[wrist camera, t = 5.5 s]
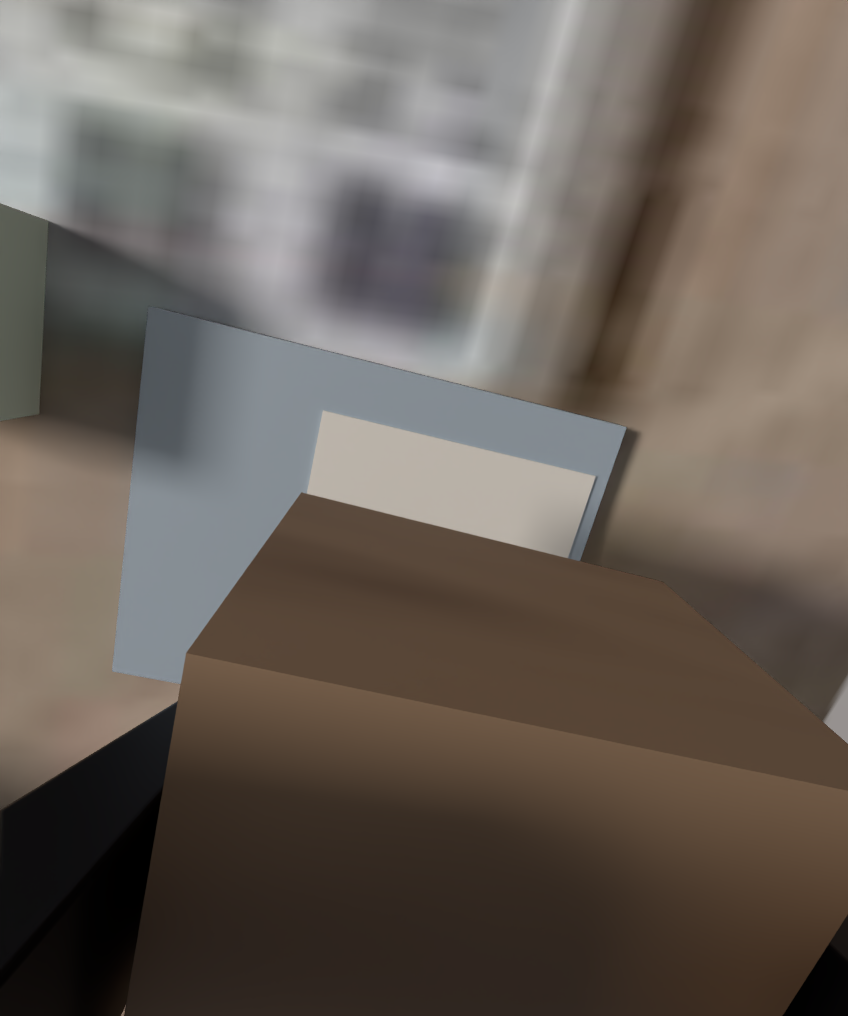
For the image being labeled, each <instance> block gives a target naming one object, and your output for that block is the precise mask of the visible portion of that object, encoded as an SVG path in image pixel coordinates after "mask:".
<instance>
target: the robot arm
mask: <svg viewBox="0 0 848 1016" xmlns="http://www.w3.org/2000/svg"><path fill="white" fill-rule="evenodd" d="M177 703H178V701H177V702H176V703H174V704H172V705H171V706H169V707H168V708H166V709H164V710H163V711H161V712H159V713H158V714H156V715H155V716H153V717H151V718H150V719H148V720H146V721H145V722H143V723H142V724H140V725H138V726H137V727H135V728H133V729H132V730H130V731H128V732H127V733H125V734H124V735H122V736H120V737H119V738H117V739H115V740H114V741H112V742H111V743H109V744H107V745H106V746H104V747H102V748H101V749H99V750H98V751H96V752H94V753H93V754H91V755H89V756H88V757H86V758H85V759H83V760H81V761H80V762H78V763H76V764H75V765H73V766H72V767H70V768H68V769H67V770H65V771H63V772H62V773H60V774H58V775H57V776H55V777H54V778H52V779H50V780H49V781H47V782H45V783H44V784H42V785H41V786H39V787H37V788H36V789H34V790H32V791H31V792H29V793H28V794H26V795H24V796H23V797H21V798H19V799H18V800H16V801H15V802H13V803H11V804H10V805H8V806H6V807H5V808H3V809H2V810H0V1016H121V1014H122V1012H123V1010H124V1007H125V1005H126V1002H127V996H128V990H129V984H130V979H131V973H132V967H133V961H134V955H135V949H136V943H137V938H138V932H139V926H140V920H141V914H142V908H143V902H144V897H145V891H146V885H147V879H148V873H149V867H150V861H151V855H152V850H153V844H154V838H155V832H156V826H157V820H158V814H159V809H160V803H161V797H162V791H163V785H164V779H165V773H166V768H167V762H168V756H169V750H170V744H171V738H172V732H173V726H174V721H175V715H176V709H177ZM783 1016H848V915H847V916H846V918H845V919H844V921H843V923H842V924H841V926H840V927H839V929H838V930H837V932H836V933H835V935H834V937H833V938H832V940H831V941H830V943H829V944H828V946H827V947H826V949H825V951H824V952H823V954H822V955H821V957H820V958H819V960H818V961H817V963H816V964H815V966H814V968H813V969H812V971H811V972H810V974H809V975H808V977H807V978H806V980H805V982H804V983H803V985H802V986H801V988H800V989H799V991H798V992H797V994H796V995H795V997H794V999H793V1000H792V1002H791V1003H790V1005H789V1006H788V1008H787V1009H786V1011H785V1013H784V1014H783Z"/></svg>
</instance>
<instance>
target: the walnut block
mask: <svg viewBox="0 0 848 1016" xmlns="http://www.w3.org/2000/svg"><path fill="white" fill-rule="evenodd" d="M847 915H848V744H847V743H846V742H845V741H844V740H843V739H842V738H840V737H839V736H838V735H837V734H836V733H834V731H832V730H831V729H830V728H829V727H828V726H827V725H826V724H824V723H823V722H822V721H821V720H820V719H819V718H818V717H816V716H815V715H814V714H813V713H812V712H811V711H810V710H808V709H807V708H806V707H805V706H804V705H803V704H802V703H801V702H799V701H798V700H797V699H796V698H795V697H794V696H793V695H791V694H790V693H789V692H788V691H787V690H786V689H785V688H783V687H782V686H781V685H780V684H779V683H778V682H777V681H775V680H774V679H773V678H772V677H771V676H770V675H769V674H767V673H766V672H765V671H764V670H763V669H762V668H761V667H759V666H758V665H757V664H756V663H755V662H754V661H753V660H751V659H750V658H749V657H748V656H747V655H746V654H745V653H743V652H742V651H741V650H740V649H739V648H738V647H737V646H735V645H734V644H733V643H732V642H731V641H730V640H729V639H727V638H726V637H725V636H724V635H723V634H722V633H721V632H720V631H718V630H717V629H716V628H715V627H714V626H713V625H712V624H710V623H709V622H708V621H707V620H706V619H705V618H704V617H702V616H701V615H700V614H699V613H698V612H697V611H696V610H694V609H693V608H692V607H691V606H690V605H689V604H688V603H686V602H685V601H684V600H683V599H682V598H681V597H680V596H678V595H677V594H676V593H675V592H674V591H673V590H672V589H670V588H669V587H668V586H667V585H666V584H665V583H664V582H662V581H658V580H654V579H650V578H646V577H642V576H638V575H634V574H630V573H626V572H622V571H617V570H613V569H609V568H605V567H601V566H597V565H593V564H589V563H585V562H581V561H577V560H573V559H569V558H565V557H561V556H557V555H553V554H549V553H545V552H541V551H537V550H533V549H529V548H525V547H520V546H516V545H512V544H508V543H504V542H500V541H496V540H492V539H488V538H484V537H480V536H476V535H472V534H468V533H464V532H460V531H456V530H452V529H448V528H444V527H440V526H436V525H432V524H428V523H423V522H419V521H415V520H411V519H407V518H403V517H399V516H395V515H391V514H387V513H383V512H379V511H375V510H371V509H367V508H363V507H359V506H355V505H351V504H347V503H343V502H339V501H335V500H331V499H327V498H322V497H318V496H314V495H310V494H306V493H302V492H301V494H300V495H299V496H298V498H297V499H296V500H295V502H294V503H293V505H292V506H291V507H290V509H289V510H288V512H287V513H286V514H285V516H284V517H283V519H282V520H281V521H280V523H279V524H278V526H277V527H276V528H275V530H274V531H273V533H272V534H271V535H270V537H269V538H268V539H267V541H266V542H265V544H264V545H263V546H262V548H261V549H260V551H259V552H258V553H257V555H256V556H255V558H254V559H253V560H252V562H251V563H250V565H249V566H248V567H247V569H246V570H245V572H244V573H243V574H242V576H241V577H240V579H239V580H238V581H237V583H236V584H235V585H234V587H233V588H232V590H231V591H230V592H229V594H228V595H227V597H226V598H225V599H224V601H223V602H222V604H221V605H220V606H219V608H218V609H217V611H216V612H215V613H214V615H213V616H212V618H211V619H210V620H209V622H208V623H207V625H206V626H205V627H204V629H203V630H202V631H201V633H200V634H199V636H198V637H197V638H196V640H195V641H194V643H193V644H192V645H191V647H190V648H189V650H188V651H187V652H186V656H185V662H184V668H183V674H182V680H181V685H180V691H179V697H178V703H177V709H176V715H175V721H174V726H173V732H172V738H171V744H170V750H169V756H168V762H167V768H166V773H165V779H164V785H163V791H162V797H161V803H160V809H159V814H158V820H157V826H156V832H155V838H154V844H153V850H152V855H151V861H150V867H149V873H148V879H147V885H146V891H145V897H144V902H143V908H142V914H141V920H140V926H139V932H138V938H137V943H136V949H135V955H134V961H133V967H132V973H131V979H130V984H129V990H128V996H127V1002H126V1008H125V1014H124V1016H783V1014H784V1013H785V1011H786V1009H787V1008H788V1006H789V1005H790V1003H791V1002H792V1000H793V999H794V997H795V995H796V994H797V992H798V991H799V989H800V988H801V986H802V985H803V983H804V982H805V980H806V978H807V977H808V975H809V974H810V972H811V971H812V969H813V968H814V966H815V964H816V963H817V961H818V960H819V958H820V957H821V955H822V954H823V952H824V951H825V949H826V947H827V946H828V944H829V943H830V941H831V940H832V938H833V937H834V935H835V933H836V932H837V930H838V929H839V927H840V926H841V924H842V923H843V921H844V919H845V918H846V916H847Z"/></svg>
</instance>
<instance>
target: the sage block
mask: <svg viewBox="0 0 848 1016" xmlns="http://www.w3.org/2000/svg"><path fill="white" fill-rule="evenodd" d="M47 241H48V221H47V220H44V219H42V218H39V217H36V216H33V215H31V214H28V213H25V212H22V211H20V210H17V209H14V208H12V207H9V206H6V205H3V204H1V203H0V421H3V420H9V419H15V418H20V417H26V416H32V415H37V414H39V406H40V385H41V365H42V344H43V323H44V303H45V282H46V261H47Z"/></svg>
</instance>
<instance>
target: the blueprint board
mask: <svg viewBox="0 0 848 1016" xmlns="http://www.w3.org/2000/svg"><path fill="white" fill-rule="evenodd" d="M626 428H627V427H624V426H622V425H619V424H615V423H611V422H607V421H603V420H599V419H595V418H591V417H587V416H583V415H579V414H575V413H571V412H567V411H563V410H560V409H556V408H552V407H548V406H544V405H540V404H536V403H532V402H528V401H524V400H520V399H516V398H512V397H508V396H504V395H500V394H496V393H492V392H488V391H484V390H480V389H477V388H473V387H469V386H465V385H461V384H457V383H453V382H449V381H445V380H441V379H437V378H433V377H429V376H425V375H421V374H417V373H413V372H409V371H405V370H401V369H397V368H394V367H390V366H386V365H382V364H378V363H374V362H370V361H366V360H362V359H358V358H354V357H350V356H346V355H342V354H338V353H334V352H330V351H326V350H322V349H318V348H314V347H311V346H307V345H303V344H299V343H295V342H291V341H287V340H283V339H279V338H275V337H271V336H267V335H263V334H259V333H255V332H251V331H247V330H243V329H239V328H235V327H231V326H228V325H224V324H220V323H216V322H212V321H208V320H204V319H200V318H196V317H192V316H188V315H184V314H180V313H176V312H172V311H168V310H164V309H160V308H155V307H150V306H148V314H147V324H146V334H145V345H144V355H143V365H142V375H141V385H140V395H139V405H138V415H137V425H136V436H135V446H134V456H133V466H132V476H131V486H130V496H129V506H128V516H127V527H126V537H125V547H124V557H123V567H122V577H121V587H120V597H119V607H118V618H117V628H116V638H115V648H114V658H113V668H112V671H113V672H118V673H123V674H129V675H134V676H140V677H145V678H151V679H156V680H162V681H167V682H173V683H178V684H181V680H182V674H183V668H184V662H185V656H186V652H187V651H188V650H189V648H190V647H191V645H192V644H193V643H194V641H195V640H196V638H197V637H198V636H199V634H200V633H201V631H202V630H203V629H204V627H205V626H206V625H207V623H208V622H209V620H210V619H211V618H212V616H213V615H214V613H215V612H216V611H217V609H218V608H219V606H220V605H221V604H222V602H223V601H224V599H225V598H226V597H227V595H228V594H229V592H230V591H231V590H232V588H233V587H234V585H235V584H236V583H237V581H238V580H239V579H240V577H241V576H242V574H243V573H244V572H245V570H246V569H247V567H248V566H249V565H250V563H251V562H252V560H253V559H254V558H255V556H256V555H257V553H258V552H259V551H260V549H261V548H262V546H263V545H264V544H265V542H266V541H267V539H268V538H269V537H270V535H271V534H272V533H273V531H274V530H275V528H276V527H277V526H278V524H279V523H280V521H281V520H282V519H283V517H284V516H285V514H286V513H287V512H288V510H289V509H290V507H291V506H292V505H293V503H294V502H295V500H296V499H297V498H298V496H299V495H300V494H301V492H302V493H306V494H310V495H314V496H318V497H322V498H327V499H331V500H335V501H339V502H343V503H347V504H351V505H355V506H359V507H363V508H367V509H371V510H375V511H379V512H383V513H387V514H391V515H395V516H399V517H403V518H407V519H411V520H415V521H419V522H423V523H428V524H432V525H436V526H440V527H444V528H448V529H452V530H456V531H460V532H464V533H468V534H472V535H476V536H480V537H484V538H488V539H492V540H496V541H500V542H504V543H508V544H512V545H516V546H520V547H525V548H529V549H533V550H537V551H541V552H545V553H549V554H553V555H557V556H561V557H565V558H569V559H573V560H577V561H580V559H581V557H582V554H583V551H584V548H585V545H586V542H587V539H588V537H589V534H590V531H591V528H592V525H593V522H594V519H595V517H596V514H597V511H598V508H599V505H600V502H601V499H602V497H603V494H604V491H605V488H606V485H607V482H608V479H609V477H610V474H611V471H612V468H613V465H614V462H615V459H616V456H617V454H618V451H619V448H620V445H621V442H622V439H623V436H624V434H625V431H626Z"/></svg>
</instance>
